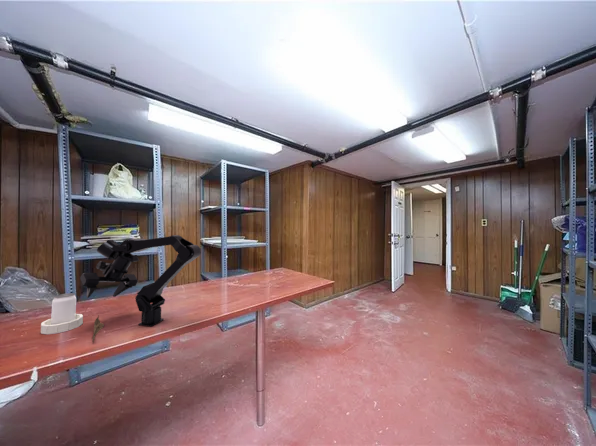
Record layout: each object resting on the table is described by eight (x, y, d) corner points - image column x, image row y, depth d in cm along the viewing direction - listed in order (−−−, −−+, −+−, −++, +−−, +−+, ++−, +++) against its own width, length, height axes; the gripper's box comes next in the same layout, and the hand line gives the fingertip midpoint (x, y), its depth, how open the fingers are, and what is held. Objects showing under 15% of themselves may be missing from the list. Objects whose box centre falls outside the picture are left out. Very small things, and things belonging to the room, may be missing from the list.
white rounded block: (65, 329, 82) (67, 297, 82) (45, 330, 80) (47, 298, 81) (79, 321, 88) (80, 292, 88) (61, 322, 87) (62, 293, 87)
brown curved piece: (98, 342, 74) (98, 328, 74) (90, 344, 73) (90, 329, 73) (104, 325, 86) (104, 313, 86) (97, 327, 85) (97, 314, 85)
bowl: (89, 322, 89) (89, 315, 89) (55, 335, 78) (55, 327, 78) (68, 319, 91) (69, 312, 91) (32, 332, 80) (32, 324, 80)
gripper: (136, 257, 102) (119, 285, 102) (87, 252, 86) (66, 285, 86) (146, 270, 97) (128, 300, 97) (95, 267, 81) (73, 303, 81)
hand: (101, 296), depth 90 cm, fingers open, 9 cm apart
